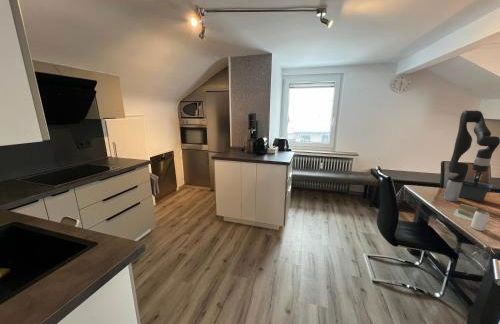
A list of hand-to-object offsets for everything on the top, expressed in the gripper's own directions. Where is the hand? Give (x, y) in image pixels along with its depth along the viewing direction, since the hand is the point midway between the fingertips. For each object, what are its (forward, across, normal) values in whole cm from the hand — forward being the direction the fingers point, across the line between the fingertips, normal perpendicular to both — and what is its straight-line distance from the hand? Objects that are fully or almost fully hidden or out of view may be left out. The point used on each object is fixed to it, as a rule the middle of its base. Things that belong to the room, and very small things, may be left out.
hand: (474, 186), depth 152 cm
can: (+21, +26, +7) cm, 34 cm away
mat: (+21, +8, 0) cm, 22 cm away
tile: (+20, +6, 0) cm, 21 cm away
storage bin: (+21, -42, -2) cm, 47 cm away
